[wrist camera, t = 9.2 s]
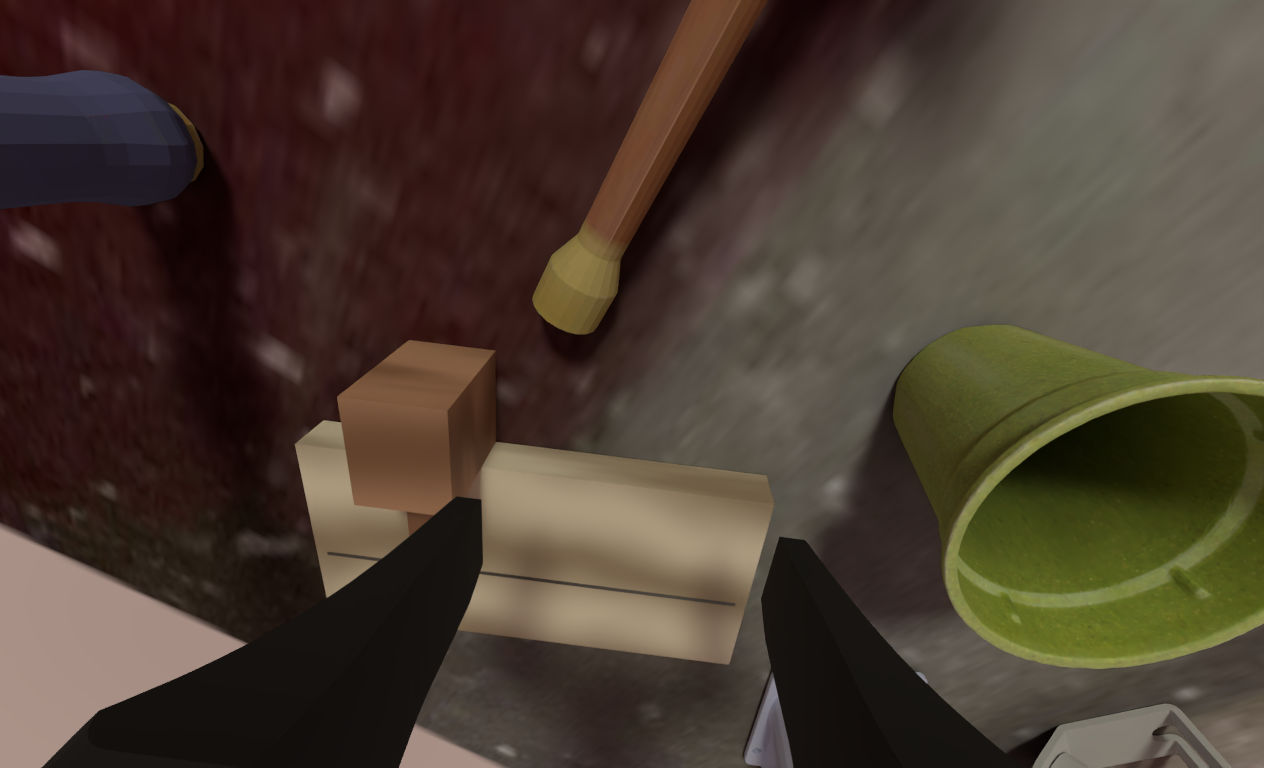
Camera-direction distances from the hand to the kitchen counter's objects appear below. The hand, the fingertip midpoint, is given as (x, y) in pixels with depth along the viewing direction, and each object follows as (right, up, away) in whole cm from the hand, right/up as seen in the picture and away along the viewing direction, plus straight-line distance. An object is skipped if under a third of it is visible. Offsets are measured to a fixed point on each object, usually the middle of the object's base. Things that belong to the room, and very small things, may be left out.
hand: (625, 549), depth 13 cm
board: (-4, -3, +13) cm, 14 cm away
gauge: (-8, 0, +11) cm, 14 cm away
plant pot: (+14, +4, +9) cm, 16 cm away
